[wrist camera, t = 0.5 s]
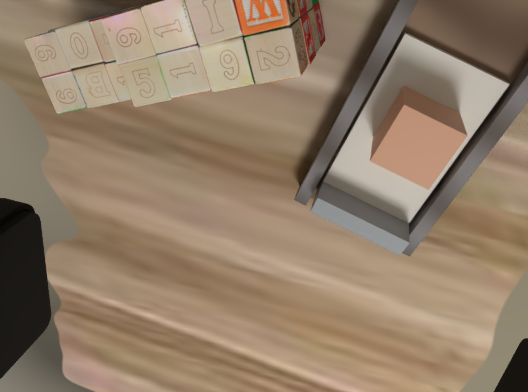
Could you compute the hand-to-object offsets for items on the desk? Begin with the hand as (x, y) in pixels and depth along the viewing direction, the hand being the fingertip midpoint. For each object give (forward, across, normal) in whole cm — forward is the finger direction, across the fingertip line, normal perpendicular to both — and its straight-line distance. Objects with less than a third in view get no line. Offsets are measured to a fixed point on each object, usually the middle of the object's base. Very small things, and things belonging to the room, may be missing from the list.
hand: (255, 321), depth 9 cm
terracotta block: (+32, -6, +6) cm, 34 cm away
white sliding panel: (+33, -6, +7) cm, 35 cm away
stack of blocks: (+35, +14, +1) cm, 37 cm away
